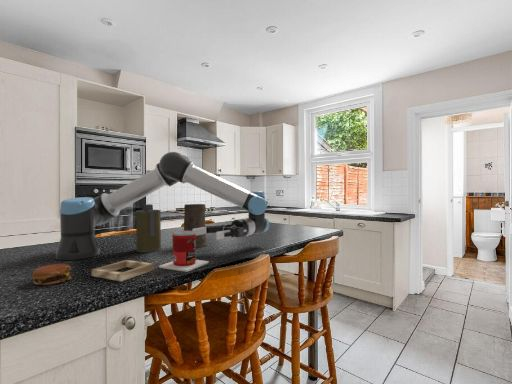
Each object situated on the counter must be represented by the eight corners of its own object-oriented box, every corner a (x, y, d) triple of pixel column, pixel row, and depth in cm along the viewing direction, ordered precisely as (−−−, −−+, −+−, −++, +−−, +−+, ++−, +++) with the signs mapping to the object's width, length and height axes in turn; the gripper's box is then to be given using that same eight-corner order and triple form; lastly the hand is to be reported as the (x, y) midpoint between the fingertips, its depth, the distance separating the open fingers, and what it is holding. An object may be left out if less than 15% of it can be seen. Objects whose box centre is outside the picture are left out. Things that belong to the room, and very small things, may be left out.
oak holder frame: (91, 275, 88) (91, 269, 88) (126, 265, 100) (126, 259, 100) (120, 281, 82) (120, 274, 82) (154, 269, 94) (154, 263, 94)
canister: (133, 249, 127) (133, 204, 127) (157, 246, 133) (156, 203, 133) (139, 253, 118) (139, 205, 118) (164, 250, 124) (164, 204, 124)
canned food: (190, 266, 95) (190, 234, 95) (168, 265, 97) (168, 233, 96) (199, 261, 103) (199, 230, 102) (179, 260, 104) (178, 230, 104)
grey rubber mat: (158, 267, 97) (158, 265, 97) (182, 259, 108) (182, 258, 108) (187, 271, 92) (187, 269, 92) (208, 262, 102) (208, 261, 102)
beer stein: (204, 248, 128) (204, 203, 129) (180, 248, 128) (180, 203, 129) (210, 243, 143) (210, 204, 144) (189, 243, 143) (189, 204, 145)
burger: (34, 280, 85) (33, 264, 85) (71, 274, 90) (71, 260, 90) (30, 289, 77) (30, 272, 77) (71, 283, 82) (71, 267, 82)
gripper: (265, 239, 115) (228, 248, 99) (222, 233, 131) (184, 240, 114) (265, 220, 115) (227, 226, 98) (222, 217, 131) (183, 221, 114)
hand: (204, 234), depth 106 cm, fingers open, 13 cm apart
